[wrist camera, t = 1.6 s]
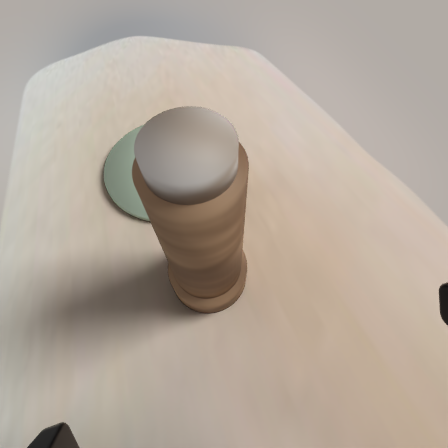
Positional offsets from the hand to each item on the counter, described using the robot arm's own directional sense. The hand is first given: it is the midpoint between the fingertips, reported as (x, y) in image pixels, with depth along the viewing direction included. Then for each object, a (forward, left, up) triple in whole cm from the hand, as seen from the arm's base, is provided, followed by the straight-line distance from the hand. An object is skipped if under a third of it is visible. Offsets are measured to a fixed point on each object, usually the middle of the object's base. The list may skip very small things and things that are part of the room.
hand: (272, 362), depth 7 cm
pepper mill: (+5, +5, -13) cm, 15 cm away
